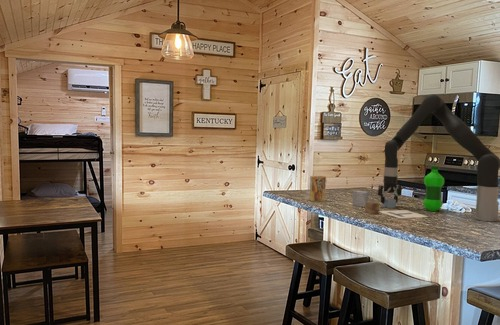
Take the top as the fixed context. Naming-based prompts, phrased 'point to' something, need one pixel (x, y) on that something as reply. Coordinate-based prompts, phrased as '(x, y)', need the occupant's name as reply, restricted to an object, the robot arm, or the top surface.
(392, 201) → the slate cube
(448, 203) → the top surface
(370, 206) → the walnut block
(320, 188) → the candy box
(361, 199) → the medicine box
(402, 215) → the board
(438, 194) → the plastic bottle
